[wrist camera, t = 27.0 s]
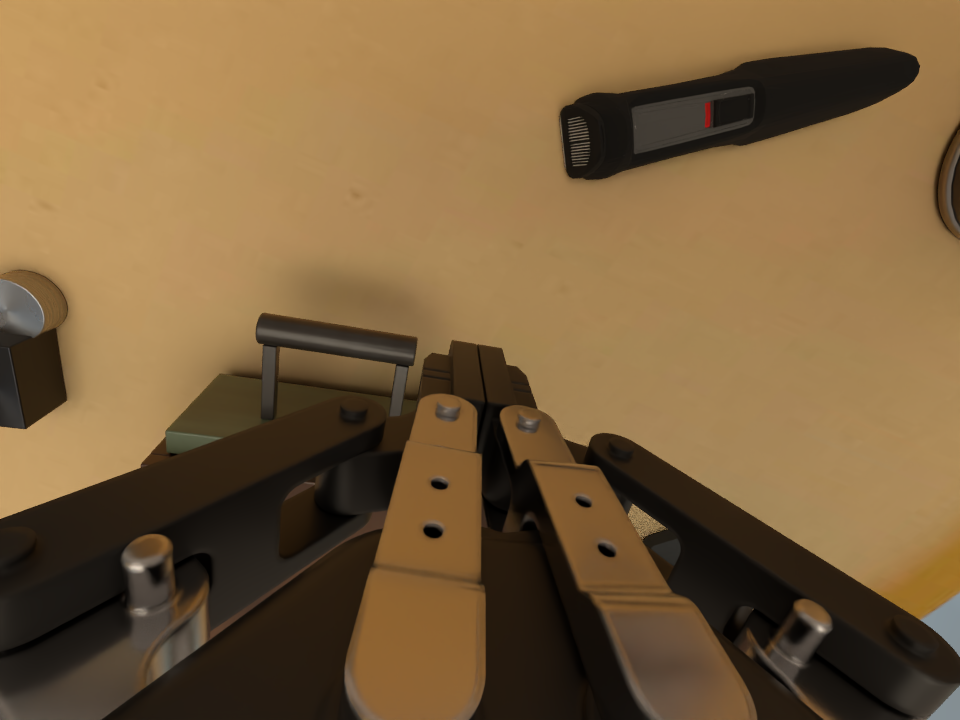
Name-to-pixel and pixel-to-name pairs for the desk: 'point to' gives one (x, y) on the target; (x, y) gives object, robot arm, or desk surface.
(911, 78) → the electric trimmer
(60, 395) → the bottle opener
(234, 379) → the drawer
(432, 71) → the desk surface
